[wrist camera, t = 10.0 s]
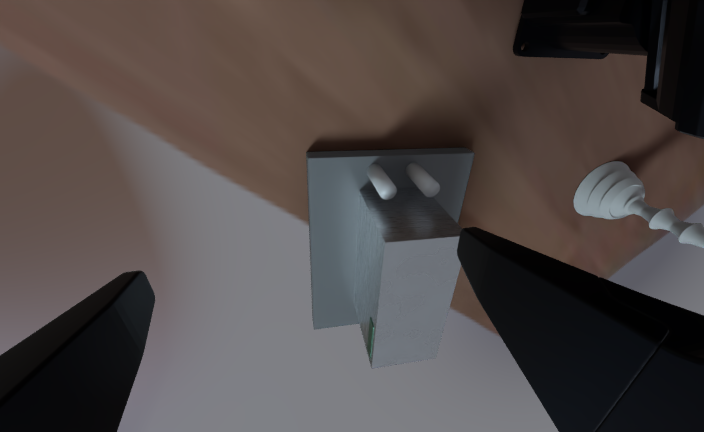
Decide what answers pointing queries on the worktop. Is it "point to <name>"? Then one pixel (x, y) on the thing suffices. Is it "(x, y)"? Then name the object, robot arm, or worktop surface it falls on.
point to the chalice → (628, 202)
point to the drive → (404, 274)
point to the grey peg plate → (342, 211)
